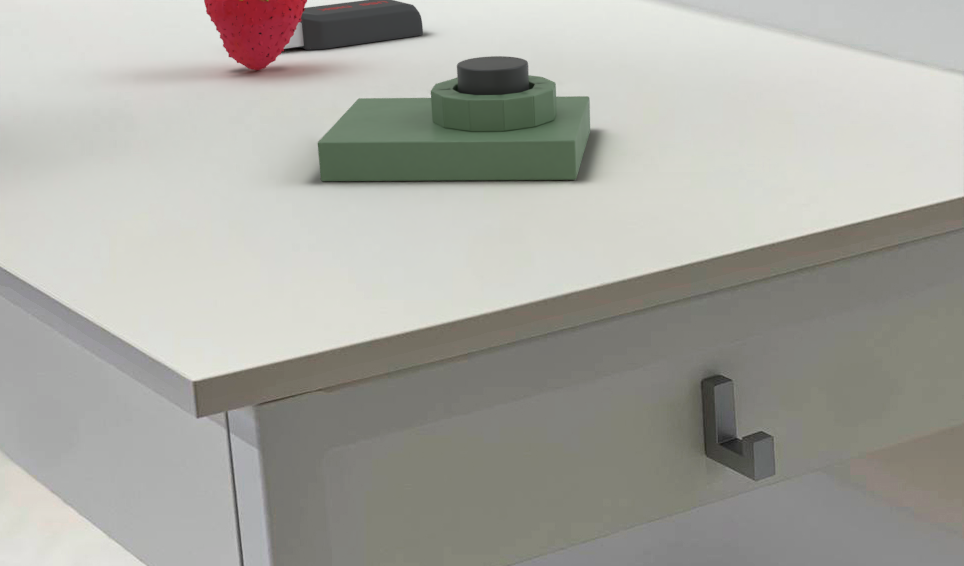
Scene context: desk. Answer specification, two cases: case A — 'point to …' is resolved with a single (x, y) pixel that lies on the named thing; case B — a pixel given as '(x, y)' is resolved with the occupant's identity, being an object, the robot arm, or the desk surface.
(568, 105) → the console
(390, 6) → the usb drive
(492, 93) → the button
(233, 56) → the strawberry
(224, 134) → the desk surface
